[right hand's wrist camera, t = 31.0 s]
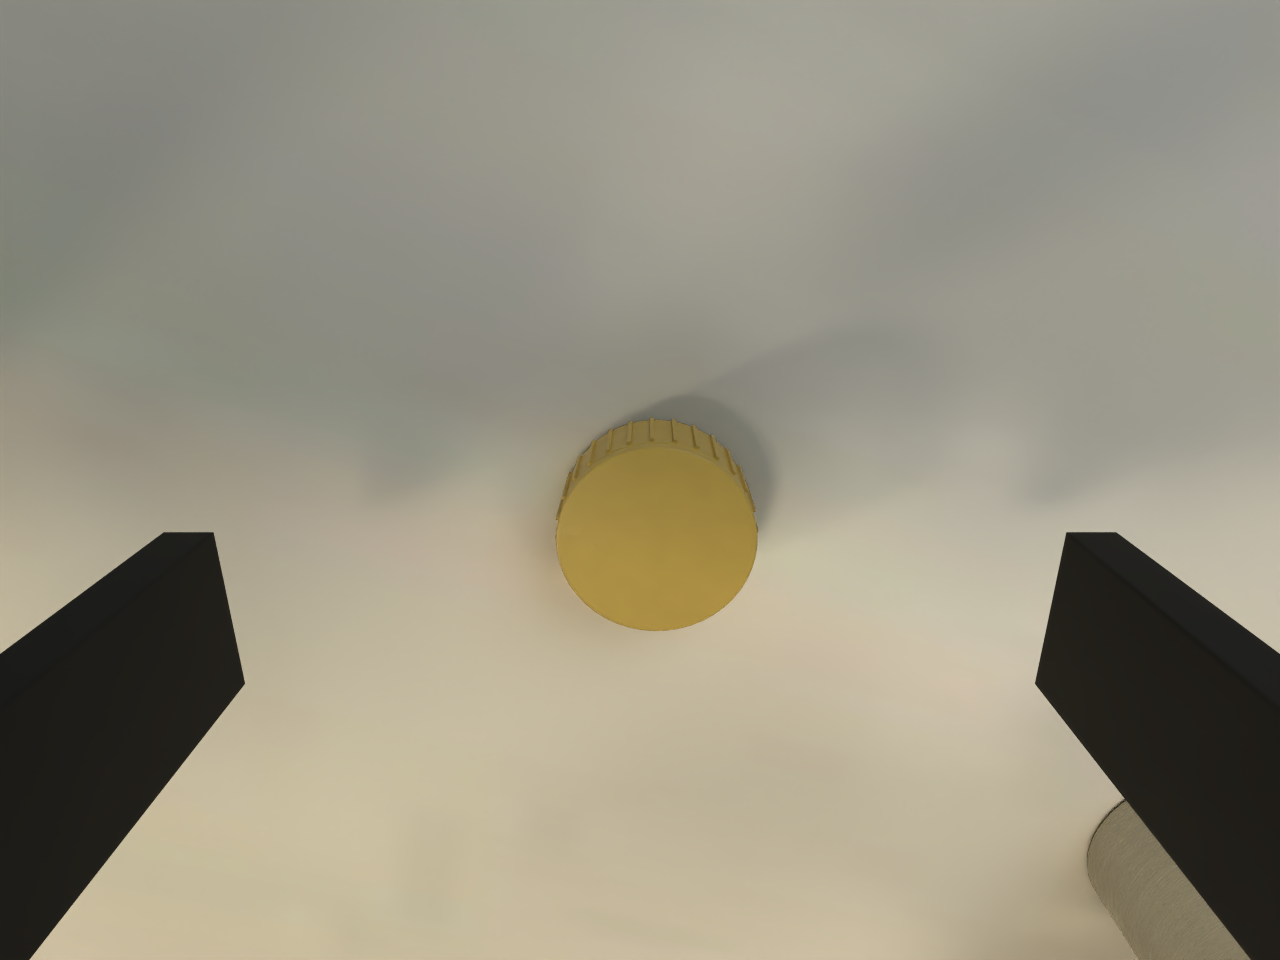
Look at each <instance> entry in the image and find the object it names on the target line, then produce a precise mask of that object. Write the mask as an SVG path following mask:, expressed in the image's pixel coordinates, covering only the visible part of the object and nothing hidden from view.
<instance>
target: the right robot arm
mask: <svg viewBox="0 0 1280 960" xmlns="http://www.w3.org/2000/svg"><path fill="white" fill-rule="evenodd" d="M244 684H245V681H244V677H243V672H242V667H241V662H240V657H239V653H238V648H237V643H236V638H235V633H234V629H233V624H232V619H231V614H230V609H229V604H228V600H227V595H226V590H225V585H224V580H223V576H222V571H221V566H220V561H219V556H218V552H217V547H216V542H215V537H214V532H164V533H162V534H161V535H160V536H158V537H157V538H156V539H154V540H153V541H151V542H150V543H149V544H147V545H146V546H145V547H143V548H142V549H141V550H139V551H138V552H137V553H135V554H134V555H133V556H131V557H130V558H129V559H127V560H126V561H125V562H123V563H122V564H121V565H119V566H118V567H117V568H115V569H114V570H112V571H111V572H110V573H108V574H107V575H106V576H104V577H103V578H102V579H100V580H99V581H98V582H96V583H95V584H94V585H92V586H91V587H90V588H88V589H87V590H86V591H84V592H83V593H82V594H80V595H79V596H78V597H76V598H75V599H73V600H72V601H71V602H69V603H68V604H67V605H65V606H64V607H63V608H61V609H60V610H59V611H57V612H56V613H55V614H53V615H52V616H51V617H49V618H48V619H47V620H45V621H44V622H43V623H41V624H40V625H39V626H37V627H36V628H34V629H33V630H32V631H30V632H29V633H28V634H26V635H25V636H24V637H22V638H21V639H20V640H18V641H17V642H16V643H14V644H13V645H12V646H10V647H9V648H8V649H6V650H5V651H4V652H2V653H1V654H0V960H29V959H30V958H31V957H32V956H33V954H34V953H35V952H36V951H37V949H38V948H39V947H40V945H41V944H42V943H43V942H44V940H45V939H46V938H47V936H48V935H49V934H50V933H51V931H52V930H53V929H54V927H55V926H56V925H57V924H58V922H59V921H60V920H61V919H62V917H63V916H64V915H65V913H66V912H67V911H68V910H69V908H70V907H71V906H72V904H73V903H74V902H75V901H76V899H77V898H78V897H79V895H80V894H81V893H82V892H83V890H84V889H85V888H86V887H87V885H88V884H89V883H90V881H91V880H92V879H93V878H94V876H95V875H96V874H97V872H98V871H99V870H100V869H101V867H102V866H103V865H104V863H105V862H106V861H107V860H108V858H109V857H110V856H111V855H112V853H113V852H114V851H115V849H116V848H117V847H118V846H119V844H120V843H121V842H122V840H123V839H124V838H125V837H126V835H127V834H128V833H129V832H130V830H131V829H132V828H133V826H134V825H135V824H136V823H137V821H138V820H139V819H140V817H141V816H142V815H143V814H144V812H145V811H146V810H147V808H148V807H149V806H150V805H151V803H152V802H153V801H154V800H155V798H156V797H157V796H158V794H159V793H160V792H161V791H162V789H163V788H164V787H165V785H166V784H167V783H168V782H169V780H170V779H171V778H172V776H173V775H174V774H175V773H176V771H177V770H178V769H179V768H180V766H181V765H182V764H183V762H184V761H185V760H186V759H187V757H188V756H189V755H190V753H191V752H192V751H193V750H194V748H195V747H196V746H197V744H198V743H199V742H200V741H201V739H202V738H203V737H204V736H205V734H206V733H207V732H208V730H209V729H210V728H211V727H212V725H213V724H214V723H215V721H216V720H217V719H218V718H219V716H220V715H221V714H222V712H223V711H224V710H225V709H226V707H227V706H228V705H229V704H230V702H231V701H232V700H233V698H234V697H235V696H236V695H237V693H238V692H239V691H240V689H241V688H242V687H243V686H244ZM1035 684H1036V686H1037V687H1038V688H1039V689H1040V691H1041V692H1042V693H1043V695H1044V696H1045V697H1046V698H1047V700H1048V701H1049V702H1050V704H1051V705H1052V706H1053V707H1054V709H1055V710H1056V711H1057V713H1058V714H1059V715H1060V716H1061V718H1062V719H1063V720H1064V721H1065V723H1066V724H1067V725H1068V727H1069V728H1070V729H1071V730H1072V732H1073V733H1074V734H1075V736H1076V737H1077V738H1078V739H1079V741H1080V742H1081V743H1082V744H1083V746H1084V747H1085V748H1086V750H1087V751H1088V752H1089V753H1090V755H1091V756H1092V757H1093V759H1094V760H1095V761H1096V762H1097V764H1098V765H1099V766H1100V768H1101V769H1102V770H1103V771H1104V773H1105V774H1106V775H1107V776H1108V778H1109V779H1110V780H1111V782H1112V783H1113V784H1114V785H1115V787H1116V788H1117V789H1118V791H1119V792H1120V793H1121V794H1122V796H1123V797H1124V798H1125V800H1126V801H1127V802H1128V803H1129V805H1130V806H1131V807H1132V808H1133V810H1134V811H1135V812H1136V814H1137V815H1138V816H1139V817H1140V819H1141V820H1142V821H1143V823H1144V824H1145V825H1146V826H1147V828H1148V829H1149V830H1150V832H1151V833H1152V834H1153V835H1154V837H1155V838H1156V839H1157V840H1158V842H1159V843H1160V844H1161V846H1162V847H1163V848H1164V849H1165V851H1166V852H1167V853H1168V855H1169V856H1170V857H1171V858H1172V860H1173V861H1174V862H1175V863H1176V865H1177V866H1178V867H1179V869H1180V870H1181V871H1182V872H1183V874H1184V875H1185V876H1186V878H1187V879H1188V880H1189V881H1190V883H1191V884H1192V885H1193V887H1194V888H1195V889H1196V890H1197V892H1198V893H1199V894H1200V895H1201V897H1202V898H1203V899H1204V901H1205V902H1206V903H1207V904H1208V906H1209V907H1210V908H1211V910H1212V911H1213V912H1214V913H1215V915H1216V916H1217V917H1218V919H1219V920H1220V921H1221V922H1222V924H1223V925H1224V926H1225V927H1226V929H1227V930H1228V931H1229V933H1230V934H1231V935H1232V936H1233V938H1234V939H1235V940H1236V942H1237V943H1238V944H1239V945H1240V947H1241V948H1242V949H1243V951H1244V952H1245V953H1246V954H1247V956H1248V957H1249V958H1250V959H1251V960H1280V654H1279V653H1278V652H1276V651H1275V650H1274V649H1272V648H1271V647H1270V646H1268V645H1267V644H1266V643H1264V642H1263V641H1262V640H1260V639H1259V638H1258V637H1256V636H1255V635H1254V634H1252V633H1251V632H1250V631H1248V630H1247V629H1246V628H1244V627H1243V626H1241V625H1240V624H1239V623H1237V622H1236V621H1235V620H1233V619H1232V618H1231V617H1229V616H1228V615H1227V614H1225V613H1224V612H1223V611H1221V610H1220V609H1219V608H1217V607H1216V606H1215V605H1213V604H1212V603H1211V602H1209V601H1208V600H1207V599H1205V598H1204V597H1202V596H1201V595H1200V594H1198V593H1197V592H1196V591H1194V590H1193V589H1192V588H1190V587H1189V586H1188V585H1186V584H1185V583H1184V582H1182V581H1181V580H1180V579H1178V578H1177V577H1176V576H1174V575H1173V574H1172V573H1170V572H1169V571H1168V570H1166V569H1165V568H1163V567H1162V566H1161V565H1159V564H1158V563H1157V562H1155V561H1154V560H1153V559H1151V558H1150V557H1149V556H1147V555H1146V554H1145V553H1143V552H1142V551H1141V550H1139V549H1138V548H1137V547H1135V546H1134V545H1133V544H1131V543H1130V542H1129V541H1127V540H1126V539H1124V538H1123V537H1122V536H1120V535H1119V534H1118V533H1116V532H1066V537H1065V542H1064V547H1063V552H1062V556H1061V561H1060V566H1059V571H1058V576H1057V580H1056V585H1055V590H1054V595H1053V600H1052V604H1051V609H1050V614H1049V619H1048V624H1047V629H1046V633H1045V638H1044V643H1043V648H1042V653H1041V657H1040V662H1039V667H1038V672H1037V677H1036V681H1035Z"/></svg>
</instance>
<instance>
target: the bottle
mask: <svg viewBox="0 0 1280 960" xmlns="http://www.w3.org/2000/svg"><path fill="white" fill-rule="evenodd" d="M1087 868H1088V874H1089V878H1090V881H1091V884H1092V886H1093V887H1094V889H1095V891H1096V893H1097V894H1098V896H1099V897H1100V899H1101V900H1102V902H1103V904H1104V905H1105V907H1106V908H1107V910H1108V911H1109V913H1110V915H1111V916H1112V918H1113V919H1114V921H1115V923H1116V924H1117V926H1118V927H1119V929H1120V930H1121V932H1122V934H1123V935H1124V937H1125V938H1126V940H1127V941H1128V943H1129V945H1130V946H1131V948H1132V949H1133V951H1134V953H1135V954H1136V956H1137V957H1138V959H1139V960H1251V959H1250V958H1249V957H1248V956H1247V954H1246V953H1245V952H1244V951H1243V949H1242V948H1241V947H1240V945H1239V944H1238V943H1237V942H1236V940H1235V939H1234V938H1233V936H1232V935H1231V934H1230V933H1229V931H1228V930H1227V929H1226V927H1225V926H1224V925H1223V924H1222V922H1221V921H1220V920H1219V919H1218V917H1217V916H1216V915H1215V913H1214V912H1213V911H1212V910H1211V908H1210V907H1209V906H1208V904H1207V903H1206V902H1205V901H1204V899H1203V898H1202V897H1201V895H1200V894H1199V893H1198V892H1197V890H1196V889H1195V888H1194V887H1193V885H1192V884H1191V883H1190V881H1189V880H1188V879H1187V878H1186V876H1185V875H1184V874H1183V872H1182V871H1181V870H1180V869H1179V867H1178V866H1177V865H1176V863H1175V862H1174V861H1173V860H1172V858H1171V857H1170V856H1169V855H1168V853H1167V852H1166V851H1165V849H1164V848H1163V847H1162V846H1161V844H1160V843H1159V842H1158V840H1157V839H1156V838H1155V837H1154V835H1153V834H1152V833H1151V832H1150V830H1149V829H1148V828H1147V826H1146V825H1145V824H1144V823H1143V821H1142V820H1141V819H1140V817H1139V816H1138V815H1137V814H1136V812H1135V811H1134V810H1133V808H1132V807H1131V806H1130V805H1129V803H1128V802H1127V801H1125V802H1123V803H1122V804H1120V805H1119V806H1118V807H1117V808H1116V809H1115V810H1113V811H1112V812H1111V813H1110V814H1109V815H1108V816H1107V818H1106V819H1105V820H1104V821H1103V822H1102V824H1101V825H1100V826H1099V828H1098V829H1097V831H1096V833H1095V835H1094V837H1093V839H1092V841H1091V844H1090V847H1089V851H1088V856H1087Z"/></svg>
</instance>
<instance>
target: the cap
mask: <svg viewBox="0 0 1280 960" xmlns="http://www.w3.org/2000/svg"><path fill="white" fill-rule="evenodd" d="M753 512H756V510H755V506H754V503H753V500H752V497H751V494H750V491H749V488H748V485H747V483H746V482H745V479H744V476H743V473H742V470H741V467H740V465H736V464H735V462H734V460H733V459H732V457H731V454H730V450H729V449H728V448H727V449H724V448H723V447H722V446H721V445H720V444H719V443H718V442H717V441H716V440H715V437H714V436H713V435H711V436H709V435H707V434H706V433H704V432H702V431H700V430H698V429H697V428H696V426H695V425H692V427H691V426H688V425H686V424H683V423H678V422H676V420H675V419H671V421H666V420H654V418H650V420H646V421H639V422H634V423H633V421H629V423H628V424H627V425H624V426H621V427H619V428H617V429H614V430H613V429H612V428H611V429H609V431H608V433H607V434H606V435H604V436H602V437H601V438H600V439H598V440H597V441H595V440H593V441H592V442H591V446H590V447H589V448H588V450H587V451H586V452H585V453H584V454H583V455H579V456H578V459H577V462H576V466H575V468H574V470H573V472H569V474H568V478H567V481H566V485H565V488H564V492H563V495H562V498H561V502H560V506H559V509H558V513H557V516H556V520H558V525H557V533H556V545H557V554H558V558H559V562H560V565H561V568H562V571H563V573H564V576H565V577H566V579H567V581H568V583H569V585H570V586H571V588H572V589H573V590H574V592H575V593H576V594H577V595H578V597H579V598H580V599H581V600H582V601H583V602H584V603H585V604H586V605H588V606H589V607H590V608H591V609H592V610H594V611H595V612H596V613H598V614H600V615H601V616H603V617H605V618H606V619H608V620H611V621H613V622H615V623H617V624H620V625H623V626H626V627H630V628H635V629H640V630H649V631H666V630H673V629H679V628H683V627H687V626H691V625H693V624H696V623H698V622H701V621H703V620H705V619H707V618H709V617H710V616H712V615H714V614H715V613H717V612H718V611H720V610H721V609H722V608H724V607H725V606H726V605H727V604H728V603H729V602H730V601H731V600H732V599H733V598H734V597H735V596H736V595H737V593H738V592H739V591H740V590H741V588H742V587H743V585H744V583H745V582H746V580H747V578H748V576H749V574H750V572H751V570H752V567H753V563H754V560H755V556H756V550H757V532H758V527H757V524H756V521H755V517H754V514H753Z"/></svg>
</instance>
